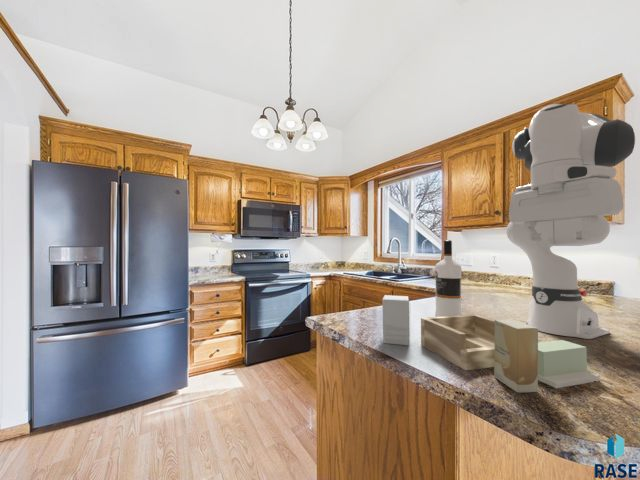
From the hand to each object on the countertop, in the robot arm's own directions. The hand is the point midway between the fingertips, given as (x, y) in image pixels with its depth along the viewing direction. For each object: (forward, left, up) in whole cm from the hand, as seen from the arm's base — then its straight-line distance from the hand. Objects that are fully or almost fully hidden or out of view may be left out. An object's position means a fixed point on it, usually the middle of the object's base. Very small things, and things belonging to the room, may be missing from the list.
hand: (557, 240), depth 59 cm
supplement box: (+24, -27, -29) cm, 46 cm away
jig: (+10, -14, -29) cm, 34 cm away
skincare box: (+14, +1, -29) cm, 32 cm away
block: (+2, 0, -28) cm, 28 cm away
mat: (+2, 0, -29) cm, 29 cm away
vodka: (-1, -35, -29) cm, 46 cm away
